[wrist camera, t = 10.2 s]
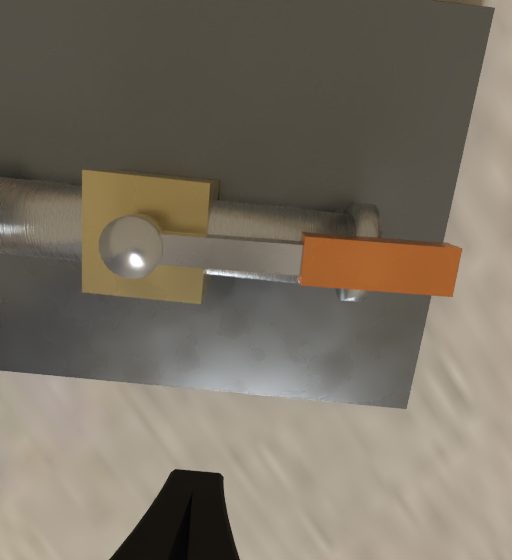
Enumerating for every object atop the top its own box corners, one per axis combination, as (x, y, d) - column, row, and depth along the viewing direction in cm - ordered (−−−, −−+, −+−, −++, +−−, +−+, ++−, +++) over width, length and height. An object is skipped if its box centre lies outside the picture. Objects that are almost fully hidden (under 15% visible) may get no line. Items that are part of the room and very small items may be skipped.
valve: (-3, 360, 22) (-87, 422, 16) (-25, -45, 17) (-152, -142, 12) (399, 398, 22) (445, 470, 17) (481, 16, 18) (579, -50, 12)
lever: (110, 269, 15) (98, 276, 14) (109, 210, 14) (97, 214, 13) (437, 293, 15) (451, 302, 14) (448, 236, 14) (463, 242, 13)
